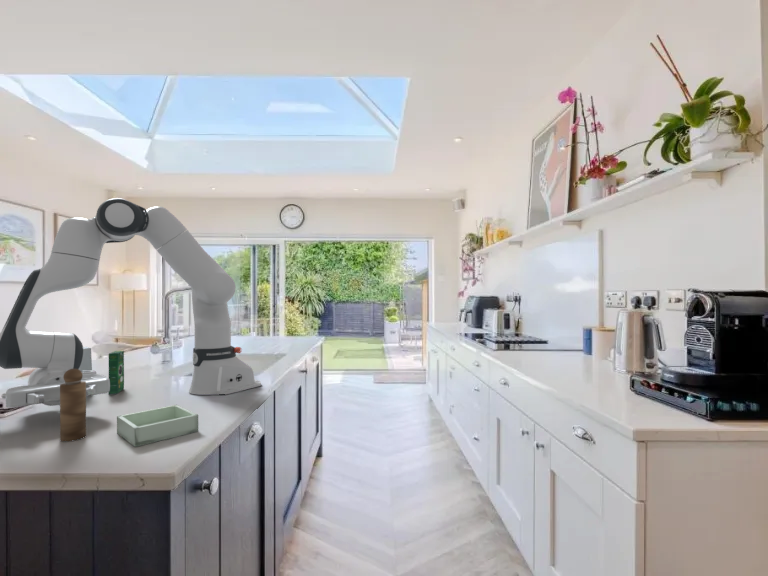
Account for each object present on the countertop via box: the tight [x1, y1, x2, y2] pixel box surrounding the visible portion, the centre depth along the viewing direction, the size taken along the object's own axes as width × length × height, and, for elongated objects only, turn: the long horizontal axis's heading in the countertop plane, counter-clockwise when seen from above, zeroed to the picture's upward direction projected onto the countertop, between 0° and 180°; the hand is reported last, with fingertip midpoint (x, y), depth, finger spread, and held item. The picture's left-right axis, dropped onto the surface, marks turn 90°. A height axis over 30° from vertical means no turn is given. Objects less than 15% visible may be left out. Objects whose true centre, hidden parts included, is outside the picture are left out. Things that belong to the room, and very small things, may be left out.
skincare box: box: [79, 346, 93, 371], centre depth 132 cm, size 8×6×15 cm
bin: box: [116, 404, 199, 448], centre depth 95 cm, size 13×13×4 cm
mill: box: [59, 369, 87, 442], centre depth 92 cm, size 5×5×15 cm
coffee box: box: [107, 350, 125, 396], centre depth 135 cm, size 8×3×13 cm, turn 20°
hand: (66, 396), depth 97 cm, fingers open, 8 cm apart
